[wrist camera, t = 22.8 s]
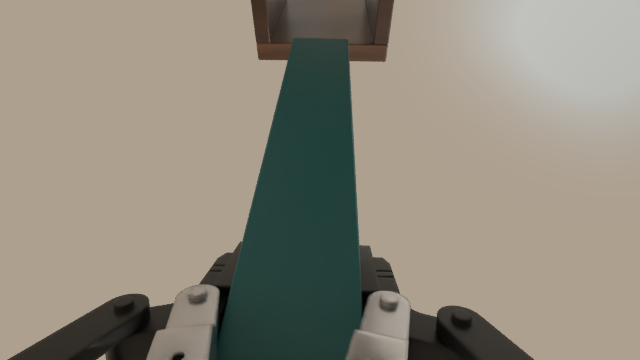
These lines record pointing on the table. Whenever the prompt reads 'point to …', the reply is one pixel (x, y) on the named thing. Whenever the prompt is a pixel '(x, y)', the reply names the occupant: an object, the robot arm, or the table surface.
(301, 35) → the shelf
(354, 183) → the pencil case
